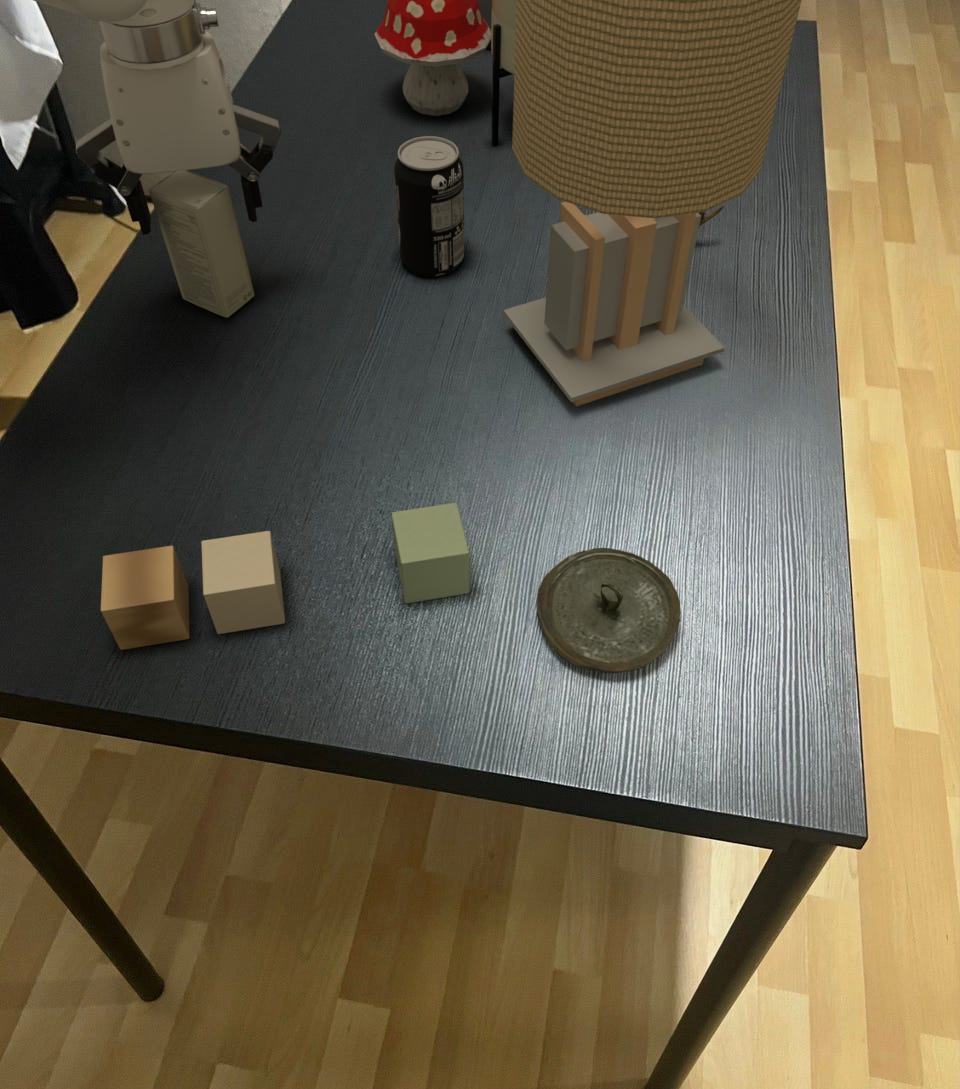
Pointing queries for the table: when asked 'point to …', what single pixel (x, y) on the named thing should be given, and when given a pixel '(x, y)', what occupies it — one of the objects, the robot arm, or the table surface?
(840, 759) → the table surface
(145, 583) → the block
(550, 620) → the lid
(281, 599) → the block
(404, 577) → the block
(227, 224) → the cosmetic box
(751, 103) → the desk lamp
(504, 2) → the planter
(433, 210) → the beverage can
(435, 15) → the decorative mushroom
